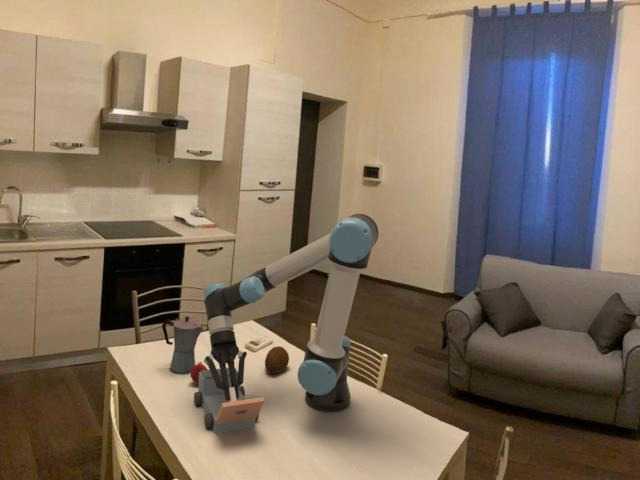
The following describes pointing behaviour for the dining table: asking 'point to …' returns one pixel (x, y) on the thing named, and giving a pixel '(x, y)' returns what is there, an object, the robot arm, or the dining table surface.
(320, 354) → the robot arm
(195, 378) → the red rounded piece
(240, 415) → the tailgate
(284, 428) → the dining table surface
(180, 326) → the moka pot
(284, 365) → the potato
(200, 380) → the pickup bed
